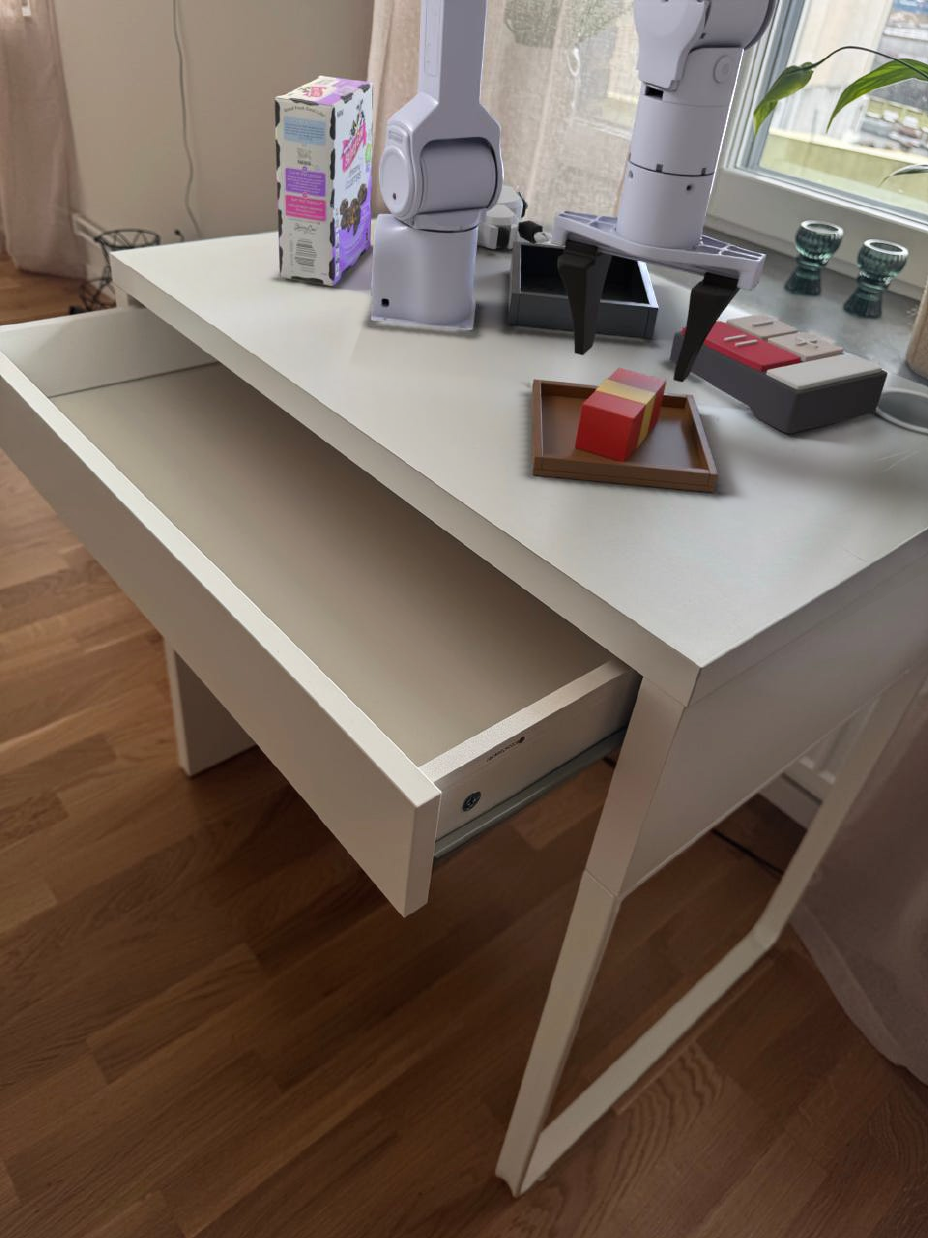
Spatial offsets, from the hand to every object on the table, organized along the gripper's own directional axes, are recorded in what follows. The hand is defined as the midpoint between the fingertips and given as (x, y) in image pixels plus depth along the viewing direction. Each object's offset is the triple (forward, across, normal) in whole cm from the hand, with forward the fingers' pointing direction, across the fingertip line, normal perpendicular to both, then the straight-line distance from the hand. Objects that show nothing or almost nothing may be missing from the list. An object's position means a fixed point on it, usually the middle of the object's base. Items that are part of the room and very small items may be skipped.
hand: (631, 363), depth 71 cm
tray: (+6, 0, 0) cm, 6 cm away
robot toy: (+7, +30, -39) cm, 50 cm away
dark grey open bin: (+6, +13, -25) cm, 29 cm away
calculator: (+7, -8, -18) cm, 21 cm away
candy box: (+7, +39, -20) cm, 45 cm away
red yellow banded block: (+6, 0, 0) cm, 6 cm away
